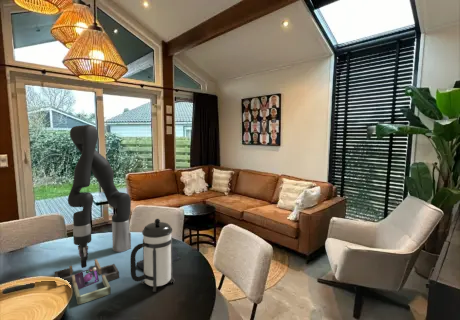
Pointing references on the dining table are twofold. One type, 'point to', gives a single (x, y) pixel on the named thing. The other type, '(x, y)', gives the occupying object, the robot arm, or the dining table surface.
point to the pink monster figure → (81, 279)
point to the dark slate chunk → (174, 258)
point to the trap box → (107, 275)
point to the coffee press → (155, 255)
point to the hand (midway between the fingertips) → (83, 266)
